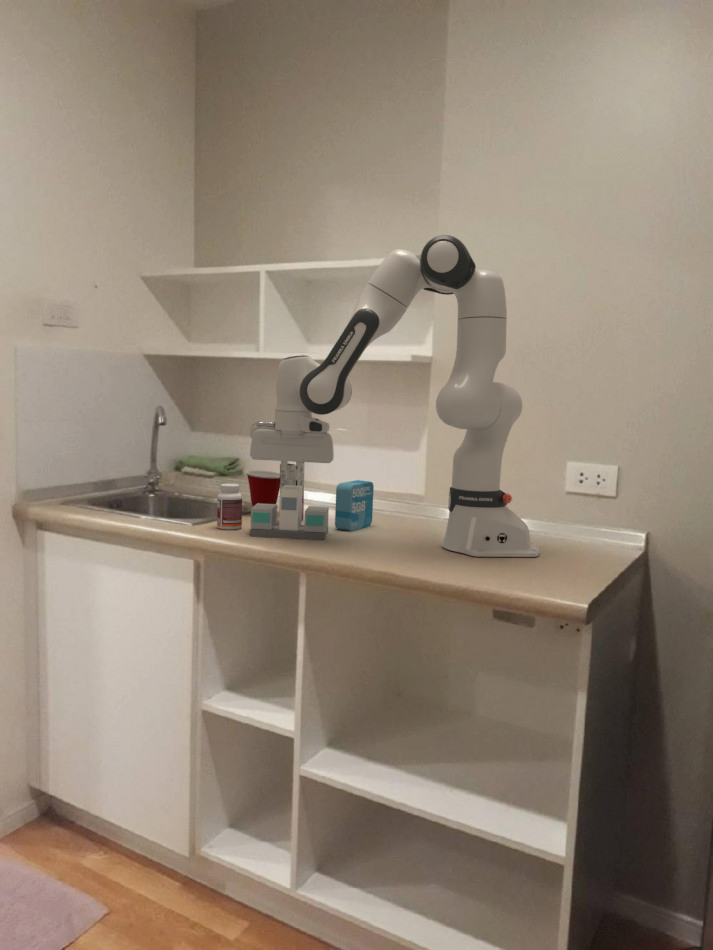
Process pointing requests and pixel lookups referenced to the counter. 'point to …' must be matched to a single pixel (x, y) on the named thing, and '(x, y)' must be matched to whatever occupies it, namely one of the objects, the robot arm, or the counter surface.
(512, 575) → the counter surface
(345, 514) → the data package
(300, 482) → the candy bar box
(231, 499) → the pill bottle
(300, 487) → the module block
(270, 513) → the teal-tagged twin block base
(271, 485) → the plastic cup
